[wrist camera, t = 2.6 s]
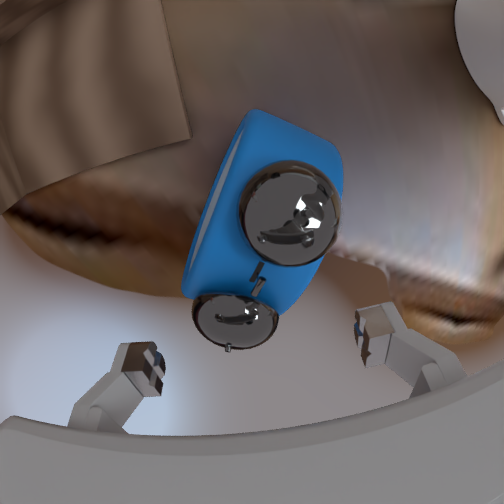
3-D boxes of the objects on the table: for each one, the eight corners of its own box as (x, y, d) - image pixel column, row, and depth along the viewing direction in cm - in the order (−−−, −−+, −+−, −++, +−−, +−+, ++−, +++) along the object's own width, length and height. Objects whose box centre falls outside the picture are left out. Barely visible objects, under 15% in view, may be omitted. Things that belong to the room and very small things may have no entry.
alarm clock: (249, 99, 22) (256, 127, 10) (317, 130, 24) (398, 198, 11) (194, 230, 29) (162, 359, 16) (254, 252, 30) (261, 384, 17)
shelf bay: (152, -46, 14) (119, -81, 7) (192, 136, 24) (171, 162, 17) (-15, 50, 16) (-67, 58, 9) (23, 194, 25) (-21, 230, 19)
